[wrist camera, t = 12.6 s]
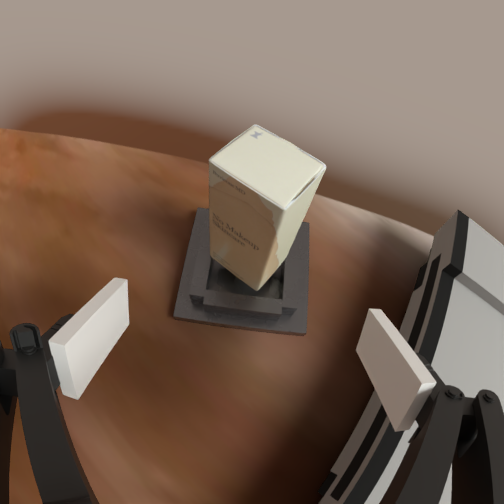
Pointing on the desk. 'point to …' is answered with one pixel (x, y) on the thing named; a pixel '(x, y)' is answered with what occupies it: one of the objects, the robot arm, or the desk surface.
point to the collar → (243, 288)
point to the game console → (434, 354)
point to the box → (258, 202)
